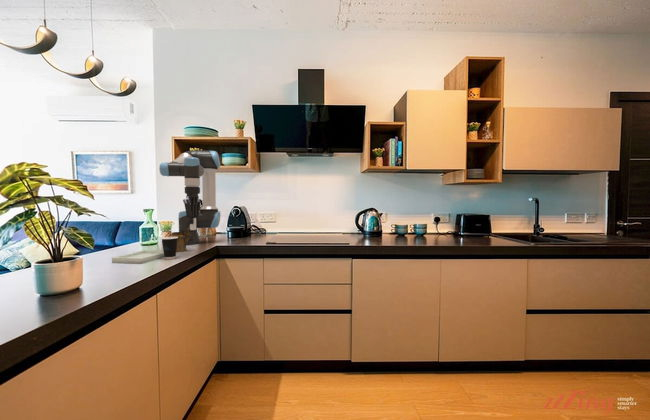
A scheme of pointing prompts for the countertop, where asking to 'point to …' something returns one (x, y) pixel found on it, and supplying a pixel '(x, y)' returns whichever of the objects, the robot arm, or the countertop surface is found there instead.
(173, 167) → the robot arm
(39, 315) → the countertop surface
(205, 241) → the countertop surface
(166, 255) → the dixie cup
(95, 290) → the countertop surface
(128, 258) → the sage tray
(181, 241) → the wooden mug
